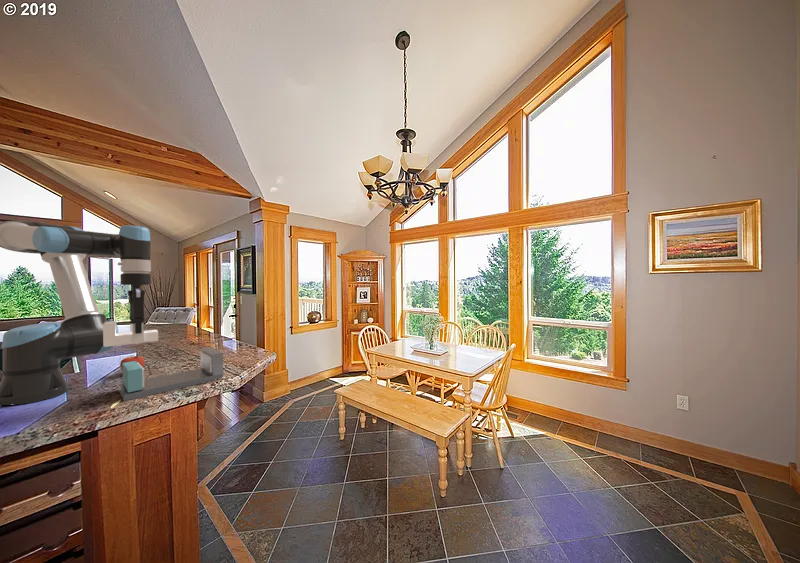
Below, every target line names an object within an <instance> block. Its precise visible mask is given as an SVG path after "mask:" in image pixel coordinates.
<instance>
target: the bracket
mask: <svg viewBox="0 0 800 563" xmlns="http://www.w3.org/2000/svg"><path fill="white" fill-rule="evenodd" d="M116 324H117V321H116V320H115V321H114V320H111V322H105V324H103V346H104V347H109V346H114V347H116V346H124V345H125V346H127V345H134V344H133V340H132V332H130V331H129V332H127V331H125V332H118V333H116ZM158 340H159V330H158V329H148V330H144V343H153V342H158Z"/></svg>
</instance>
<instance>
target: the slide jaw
mask: <svg viewBox="0 0 800 563" xmlns="http://www.w3.org/2000/svg"><path fill="white" fill-rule="evenodd" d="M122 369H123V371H122V384H123V385H124V386H125V388H126V390H127V392H128V393H129V392H133V391H138V390H142V388H143V387H144V379H145V368H144V366H143V367H142V366H141V365H140V364H139V363H138V362H136V361H132V362H126V363H122Z"/></svg>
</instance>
